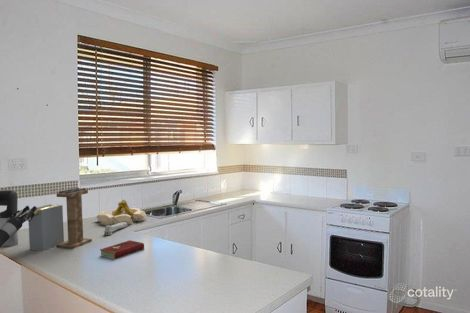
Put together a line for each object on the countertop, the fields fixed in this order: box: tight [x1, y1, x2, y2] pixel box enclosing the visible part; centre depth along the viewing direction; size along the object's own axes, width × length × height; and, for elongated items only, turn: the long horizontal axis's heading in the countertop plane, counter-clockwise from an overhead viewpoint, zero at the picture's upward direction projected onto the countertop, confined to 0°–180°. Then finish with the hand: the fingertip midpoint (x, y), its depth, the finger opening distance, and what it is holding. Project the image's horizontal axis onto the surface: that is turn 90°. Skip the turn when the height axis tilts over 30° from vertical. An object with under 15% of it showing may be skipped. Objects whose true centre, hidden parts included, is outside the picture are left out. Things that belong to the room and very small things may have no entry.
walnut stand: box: [55, 187, 93, 250], centre depth 231 cm, size 16×12×33 cm
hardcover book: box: [99, 240, 145, 260], centre depth 214 cm, size 12×21×4 cm, turn 146°
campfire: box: [96, 199, 147, 226], centre depth 293 cm, size 35×34×17 cm
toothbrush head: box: [103, 222, 128, 236], centre depth 262 cm, size 5×7×25 cm
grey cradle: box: [28, 203, 65, 252], centre depth 228 cm, size 16×10×24 cm, turn 161°
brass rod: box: [23, 204, 59, 217], centre depth 225 cm, size 24×3×3 cm, turn 161°
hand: (32, 207), depth 218 cm, fingers open, 4 cm apart
